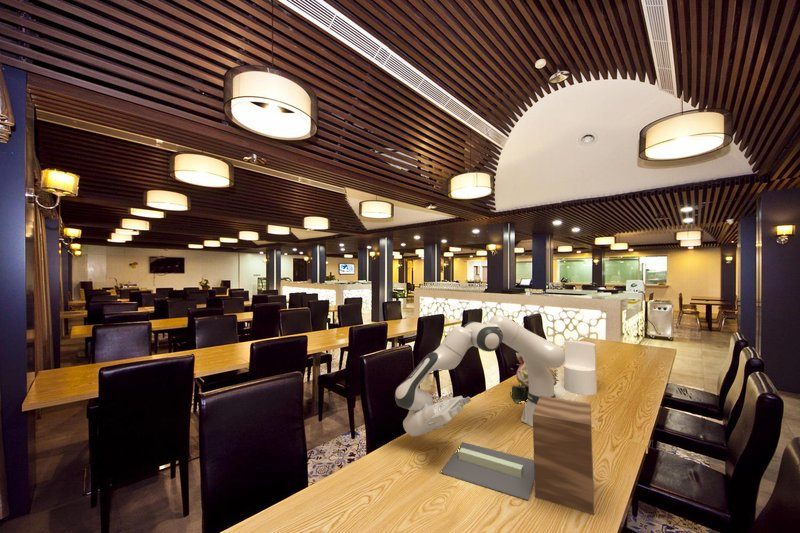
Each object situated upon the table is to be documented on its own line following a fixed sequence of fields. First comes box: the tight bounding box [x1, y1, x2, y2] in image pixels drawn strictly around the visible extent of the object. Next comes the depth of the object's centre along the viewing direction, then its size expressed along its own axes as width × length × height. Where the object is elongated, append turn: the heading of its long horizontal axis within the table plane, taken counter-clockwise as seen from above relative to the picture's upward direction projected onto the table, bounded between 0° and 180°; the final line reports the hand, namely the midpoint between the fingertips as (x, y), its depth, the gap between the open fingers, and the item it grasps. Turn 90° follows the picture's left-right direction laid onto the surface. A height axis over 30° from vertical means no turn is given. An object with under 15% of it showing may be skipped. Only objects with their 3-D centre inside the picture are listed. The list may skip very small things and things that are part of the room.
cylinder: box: [563, 340, 598, 396], centre depth 197 cm, size 17×17×28 cm
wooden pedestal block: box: [532, 396, 595, 516], centre depth 107 cm, size 18×16×26 cm
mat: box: [439, 441, 535, 502], centre depth 119 cm, size 24×30×1 cm
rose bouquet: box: [506, 352, 560, 404], centre depth 186 cm, size 26×29×30 cm
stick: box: [459, 448, 523, 478], centre depth 119 cm, size 3×23×3 cm, turn 57°
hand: (465, 403), depth 124 cm, fingers open, 8 cm apart
